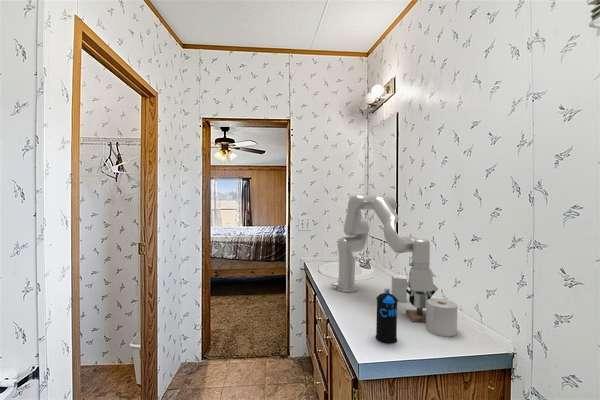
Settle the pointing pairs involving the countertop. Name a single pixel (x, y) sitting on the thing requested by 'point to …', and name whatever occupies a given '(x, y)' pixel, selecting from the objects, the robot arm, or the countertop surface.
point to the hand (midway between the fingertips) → (419, 304)
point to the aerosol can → (386, 317)
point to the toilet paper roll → (441, 317)
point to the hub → (420, 299)
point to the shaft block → (417, 315)
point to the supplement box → (399, 287)
